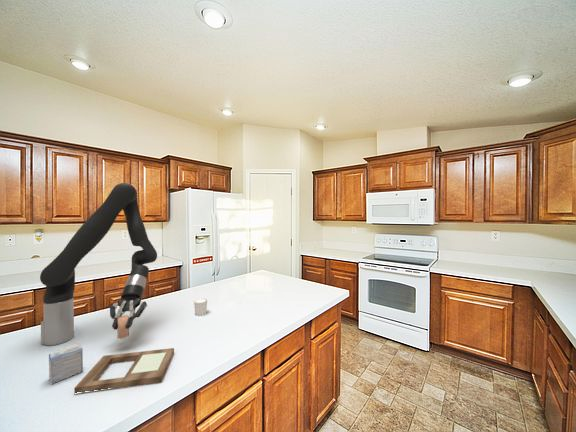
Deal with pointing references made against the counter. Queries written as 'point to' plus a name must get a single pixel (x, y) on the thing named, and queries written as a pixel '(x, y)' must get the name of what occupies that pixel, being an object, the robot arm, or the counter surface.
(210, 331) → the counter surface
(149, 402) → the counter surface
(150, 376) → the hole board
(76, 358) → the medicine box
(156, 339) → the counter surface
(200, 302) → the white candle
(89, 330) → the counter surface
